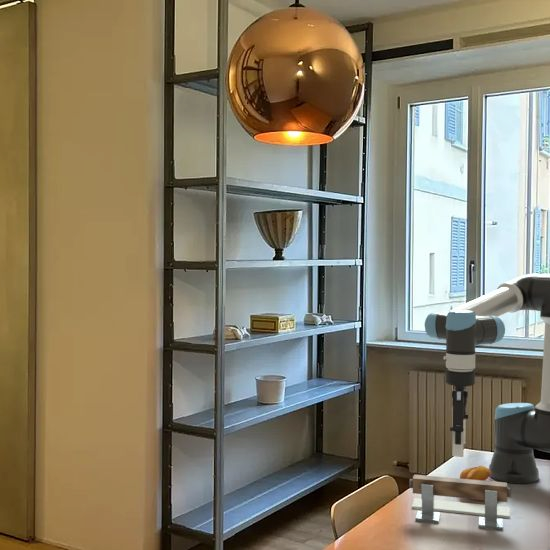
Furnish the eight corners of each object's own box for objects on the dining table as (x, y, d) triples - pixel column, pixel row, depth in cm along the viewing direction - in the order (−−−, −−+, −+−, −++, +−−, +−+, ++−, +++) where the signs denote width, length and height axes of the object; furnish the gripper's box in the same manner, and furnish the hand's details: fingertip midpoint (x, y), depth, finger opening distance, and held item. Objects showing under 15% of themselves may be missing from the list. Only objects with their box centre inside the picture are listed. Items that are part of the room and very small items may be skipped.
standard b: (502, 521, 192) (503, 484, 192) (502, 530, 186) (503, 492, 185) (479, 519, 194) (479, 482, 193) (478, 528, 187) (478, 489, 187)
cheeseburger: (504, 503, 205) (495, 469, 205) (466, 509, 208) (457, 476, 208) (500, 491, 215) (492, 458, 215) (464, 497, 217) (456, 465, 217)
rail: (510, 498, 190) (510, 483, 190) (511, 502, 186) (511, 487, 186) (410, 488, 197) (410, 474, 197) (408, 492, 194) (408, 478, 194)
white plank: (509, 509, 201) (509, 507, 201) (510, 518, 194) (510, 516, 194) (414, 500, 209) (414, 497, 209) (411, 508, 202) (411, 506, 202)
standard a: (440, 515, 197) (440, 478, 196) (438, 523, 190) (438, 486, 190) (417, 512, 198) (418, 476, 198) (415, 521, 192) (415, 484, 192)
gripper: (448, 361, 204) (447, 436, 204) (442, 376, 180) (441, 461, 180) (476, 363, 201) (475, 439, 202) (473, 377, 178) (472, 463, 178)
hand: (459, 449), depth 191 cm, fingers open, 13 cm apart
